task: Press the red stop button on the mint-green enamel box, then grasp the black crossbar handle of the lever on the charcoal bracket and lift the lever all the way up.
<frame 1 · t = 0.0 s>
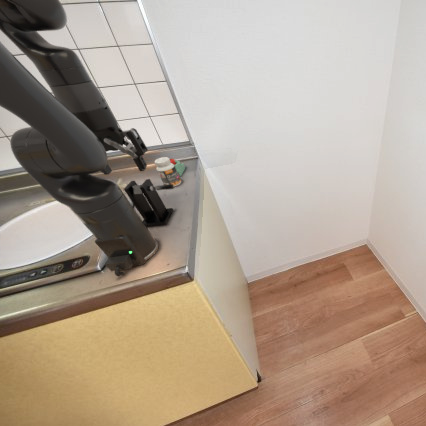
hand: (126, 171, 62), 17 cm above the counter, tool pointing down, fingers open, 8 cm apart
stop button: (170, 162, 93), point 4 cm above the counter, slide at 0.1 cm
lever: (153, 188, 73), point 8 cm above the counter, hinge at -30.0°
pill bottle: (173, 184, 90), on the counter
bracket: (158, 219, 74), on the counter
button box: (175, 172, 96), on the counter
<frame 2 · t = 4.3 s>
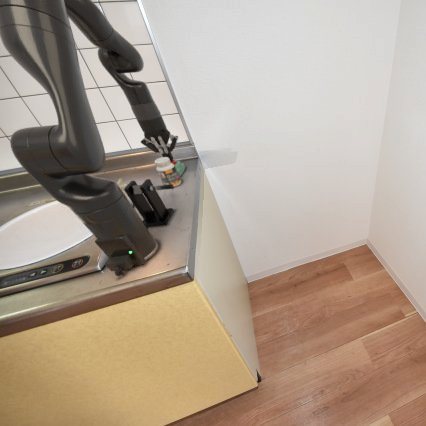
hand: (170, 161, 93), 5 cm above the counter, tool pointing down, fingers closed
stop button: (171, 163, 93), point 4 cm above the counter, slide at -0.2 cm, touching gripper
everything else where it was.
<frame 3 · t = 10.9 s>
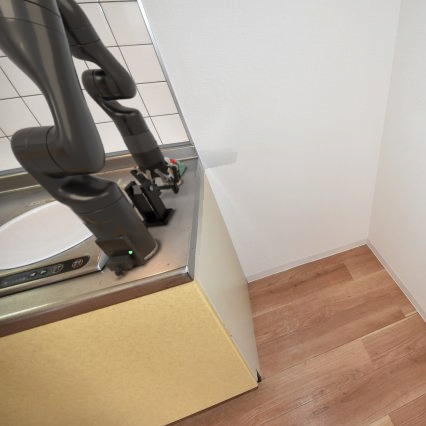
hand: (168, 193, 81), 2 cm above the counter, tool pointing down, fingers closed on lever, 5 cm apart
stop button: (170, 162, 93), point 4 cm above the counter, slide at 0.1 cm
lever: (153, 188, 73), point 8 cm above the counter, hinge at -30.1°, touching gripper
everything else where it was.
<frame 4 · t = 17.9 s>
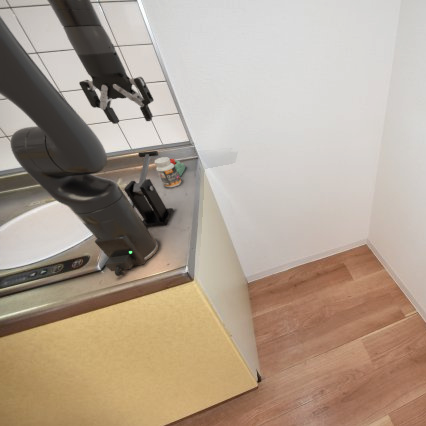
hand: (133, 121, 66), 26 cm above the counter, tool pointing down, fingers open, 8 cm apart
lever: (144, 171, 69), point 13 cm above the counter, hinge at 23.3°
everything else where it was.
at the end: stop button pushed in 1.1 cm at the most during the clip, back to where it started at the end; stop button slide at 0.1 cm; lever at +23° (first picture: -30°) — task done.
